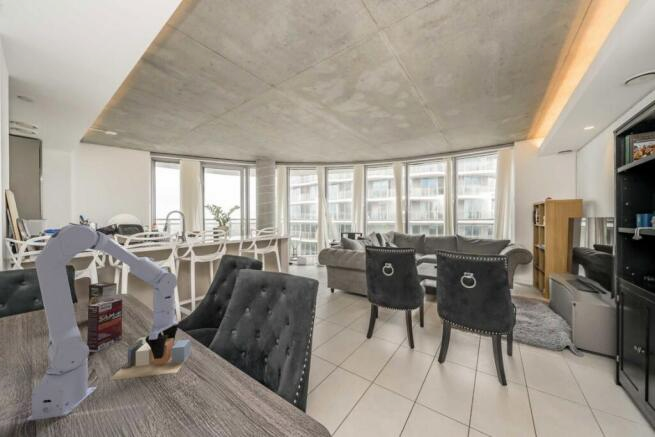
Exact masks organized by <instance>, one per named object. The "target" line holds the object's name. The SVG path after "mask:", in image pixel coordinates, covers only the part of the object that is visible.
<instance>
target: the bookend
mask: <svg viewBox="0 0 655 437" xmlns="http://www.w3.org/2000/svg"><path fill="white" fill-rule="evenodd" d="M138 340H139V339H138ZM138 340H137V341H138ZM137 341H136V342H134V344H133V345H131V346H130V347H129V348H128V349H127V362H126V363H125V364H124V365H123V366H122V367H121V368H122V369H123V368H131V367H132V366H133V365H134V364H135V363H136V351H137V350H138V349H139V348H140V347H141V346H142V340H139V341H138V342H137Z"/></svg>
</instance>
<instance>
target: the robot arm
mask: <svg viewBox="0 0 655 437" xmlns="http://www.w3.org/2000/svg"><path fill="white" fill-rule="evenodd" d="M88 249H89V250H93V251H101V252H104V253H106V254H107V255H109V256H111V257H113V258H114V259H116V260H117V261H120V262H121V263H123V264H125V265H127V266H128V267H129V273H130V274H132V275H133V276H135V277H137V278H138V279H140V280H142V281H144V282H145V283H147V284H149V285H150V287H152V289H153V292H152V294H153V296H152V301H153V302H152V303H153V304H152V306H153V307H152V311H153V312H152V315H153V316H152V321H153V322H152V325H151V328H150V331H149V332H148V335H146V336H145V337H146V342H147V343H148V345H149V346H150V348H151V350H152V353H153V356H154V359H160V358H162V357H163V354H164V347H165V342H166V339H168V338H174V341H175V340H176V335H177V331H178V329H179V327H180V325H181V321H179V320H178V317H177V316H178V315H177V314H175V311H176V310H175V306H176V305H175V289H176V287H177V286H178V284H179V279H177V276H176V275H175V273H172V272H169V271H167V268H166V267H165V266H161V265H159V264H158V263H156V262H155V259H154V258H153V257H147V256H143V257H142V256H141V257H138V256H137V255H136V254H135V253H133V252H131V251H130V250H129V249H128V248H126V247H124V246H123V245H122V244H120V243H118V242H117V241H116V240H115V239H114V238H112V237H110V236H108V235H107V234H105V233H103V232H100V231H99V230H98V231H97V230H95V228H93V227H92V226H89V225H86V224H68V225H66V226H62V227H61V228H60V229H58V230H56V231H55V232H54V233H53V234H51V235H50V237H49V238H48V240H47V242H46V243H45V245H44V246H43V247H42V249H41V250H40V251H39V253H38V254H37V256H36V258H35V260H34V265H35V270H36V273H37V274H36V275H37V280H38V283H39V284H38V285H39V288H40V293H41V299H42V303H43V308H44V312H45V318H46V322H47V327H48V338H49V342H48V345H47V346H46V350H45V353H46V356H47V357H48V359H49V360H50V362H49V364H48V365H47V367H45V374H44V376H43V377H42V379H41V380H40V381H39V382H38V383H37V384H36V385H35V387H33V389H32V392H31V415H30V416H28V417H26V420H27V421H33V420H42V419H48V418H49V419H50V418H56V417H65V416H68V415H69V414H70V413H71V411H72V410H74V409H75V408H76V407H77V406H78V405H80V403H81V402H83V401H84V400H85V399H87V397H88V396H89V395H90V394H91V393H93V392H94V391H95V390H96V389H97V386H93V387H92V386H91V387H88V385H89V384H88V380H89V376H88V375H89V374H88V373H89V370H88V369H89V368H88V367H89V366H88V365H89V364H88V360H89V359H88V358H89V354H90V352H89V347H88V346H87V344H86V343H85V342H83V340H82V336H81V332H80V330H79V327H78V324H77V318H76V313H75V308H74V304H73V298H72V297H73V296H72V294H71V293H72V292H71V287H70V283H69V277H68V271H67V268H66V265H67V264H68V263H69V262H70V261H72V260H73V259H74V258H75V257H76V256H77V255H78V254H80V253H82V252H85V251H86V250H88Z"/></svg>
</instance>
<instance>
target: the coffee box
mask: <svg viewBox="0 0 655 437" xmlns="http://www.w3.org/2000/svg"><path fill="white" fill-rule="evenodd" d="M117 284H118V283H117V282H106V281H102V282H97V283H92V284H89V285H88V306H89V305H93V304H97V303H100V302H104V301H108V300H111V299H118V298H117V296H118V295H117V293H118V292H117V290H118V286H117Z"/></svg>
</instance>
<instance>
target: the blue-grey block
mask: <svg viewBox="0 0 655 437" xmlns="http://www.w3.org/2000/svg"><path fill="white" fill-rule="evenodd" d="M190 352H191V339H179V340H177V341H176V342H175V343H174V346H173V347H172V362H182V361H185V359H186V358H187V357H188V358H189V356H190V355H189V354H191V353H190ZM188 355H189V356H188ZM188 358H187V359H188ZM187 359H186V360H187ZM185 362H186V361H185Z"/></svg>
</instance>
